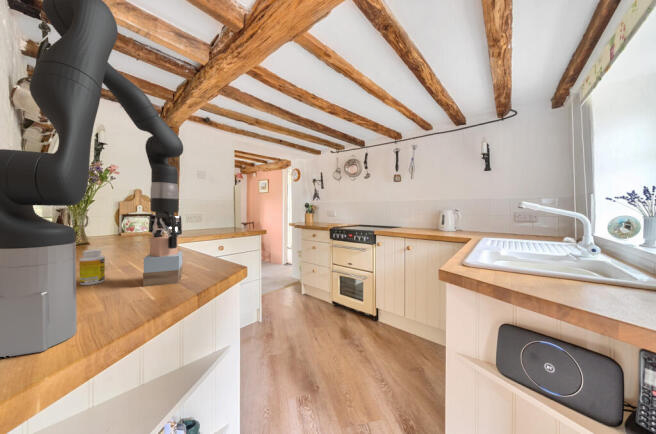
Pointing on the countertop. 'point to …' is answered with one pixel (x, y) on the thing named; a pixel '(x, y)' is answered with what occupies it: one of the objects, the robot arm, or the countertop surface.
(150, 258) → the upper block
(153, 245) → the terracotta cube
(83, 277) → the supplement bottle
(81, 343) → the countertop surface
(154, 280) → the lower block
